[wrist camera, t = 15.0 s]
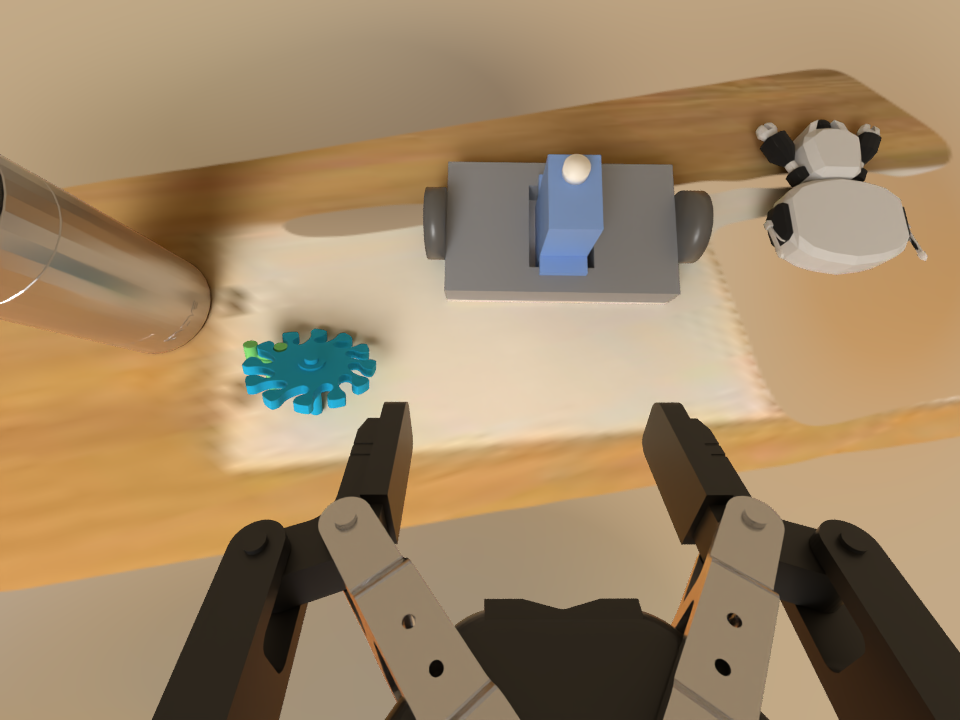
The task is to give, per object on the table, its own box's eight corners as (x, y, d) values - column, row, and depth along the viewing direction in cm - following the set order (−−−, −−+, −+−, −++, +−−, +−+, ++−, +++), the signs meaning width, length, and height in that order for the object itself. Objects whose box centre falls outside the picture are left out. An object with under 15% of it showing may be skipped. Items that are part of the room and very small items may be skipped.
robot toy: (732, 144, 43) (753, 282, 39) (761, 107, 38) (787, 259, 35) (855, 145, 43) (887, 284, 39) (898, 108, 38) (938, 261, 35)
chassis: (682, 304, 39) (718, 282, 33) (429, 300, 39) (420, 277, 33) (675, 184, 41) (707, 142, 35) (434, 180, 41) (426, 138, 35)
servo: (579, 285, 39) (607, 244, 30) (535, 284, 39) (550, 243, 30) (577, 194, 40) (603, 129, 32) (534, 193, 40) (549, 129, 32)
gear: (398, 346, 37) (325, 417, 29) (395, 397, 40) (329, 473, 32) (291, 308, 39) (195, 364, 31) (297, 359, 42) (212, 422, 35)
